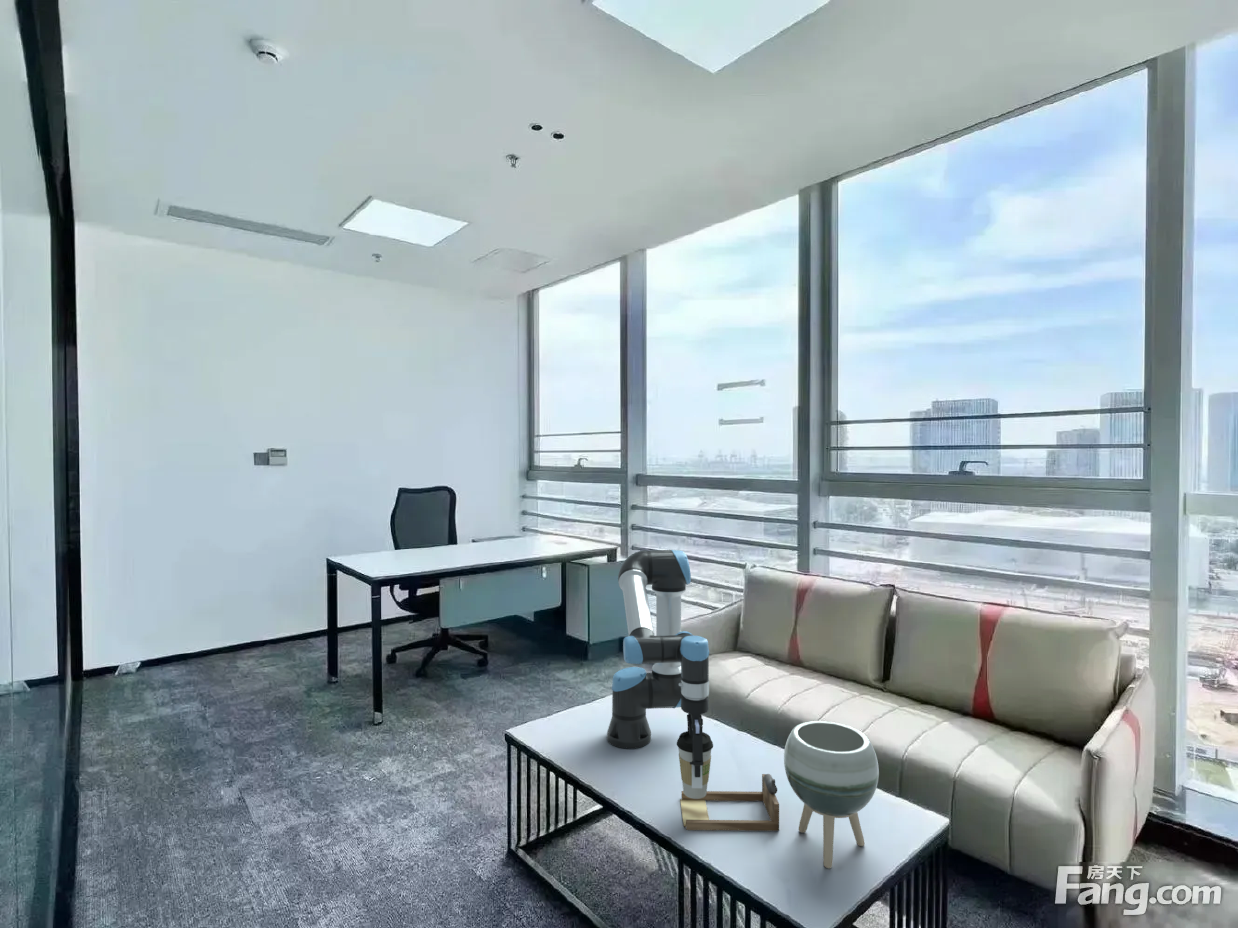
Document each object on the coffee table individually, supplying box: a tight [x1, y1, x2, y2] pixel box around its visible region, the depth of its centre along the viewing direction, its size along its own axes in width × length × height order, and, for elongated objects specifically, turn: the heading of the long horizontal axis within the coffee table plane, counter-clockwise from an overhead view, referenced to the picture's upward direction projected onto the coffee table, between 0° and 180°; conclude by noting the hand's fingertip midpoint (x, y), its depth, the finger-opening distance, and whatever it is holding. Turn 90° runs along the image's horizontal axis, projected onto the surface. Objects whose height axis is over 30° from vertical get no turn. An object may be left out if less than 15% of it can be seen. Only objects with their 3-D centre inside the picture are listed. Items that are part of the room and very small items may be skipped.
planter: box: [783, 720, 880, 869], centre depth 153 cm, size 22×22×28 cm
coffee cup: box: [676, 730, 714, 799], centre depth 167 cm, size 10×10×15 cm
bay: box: [679, 773, 780, 832], centre depth 167 cm, size 15×25×11 cm, turn 89°
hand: (694, 777), depth 167 cm, fingers closed on coffee cup, 10 cm apart
